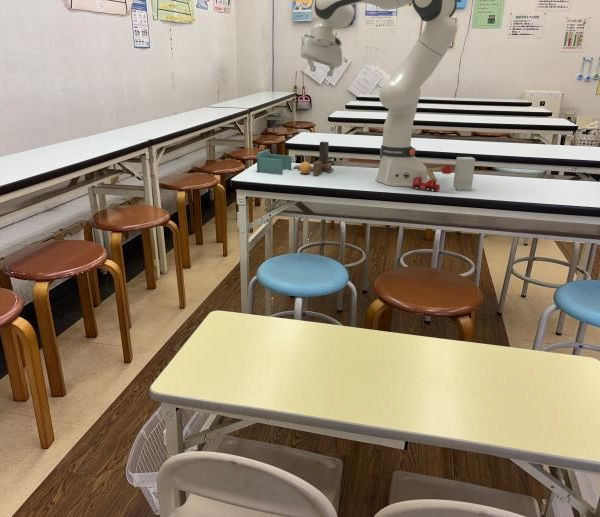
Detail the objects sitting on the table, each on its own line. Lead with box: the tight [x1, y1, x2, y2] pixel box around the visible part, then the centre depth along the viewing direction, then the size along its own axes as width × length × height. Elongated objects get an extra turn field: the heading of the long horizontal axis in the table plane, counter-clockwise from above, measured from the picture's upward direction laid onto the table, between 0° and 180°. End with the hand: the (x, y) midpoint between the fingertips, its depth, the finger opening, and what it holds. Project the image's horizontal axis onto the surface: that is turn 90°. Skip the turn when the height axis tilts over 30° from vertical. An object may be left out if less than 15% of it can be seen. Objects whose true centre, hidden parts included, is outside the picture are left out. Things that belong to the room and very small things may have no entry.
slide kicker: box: [312, 141, 332, 176], centre depth 215 cm, size 6×13×12 cm, turn 159°
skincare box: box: [452, 156, 476, 190], centre depth 192 cm, size 6×4×12 cm
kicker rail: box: [293, 164, 335, 174], centre depth 222 cm, size 17×5×1 cm, turn 69°
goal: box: [256, 148, 293, 175], centre depth 219 cm, size 12×11×8 cm
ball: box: [299, 161, 312, 175], centre depth 215 cm, size 5×5×5 cm
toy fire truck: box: [411, 165, 453, 192], centre depth 190 cm, size 3×14×10 cm, turn 62°
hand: (321, 73), depth 206 cm, fingers open, 8 cm apart
